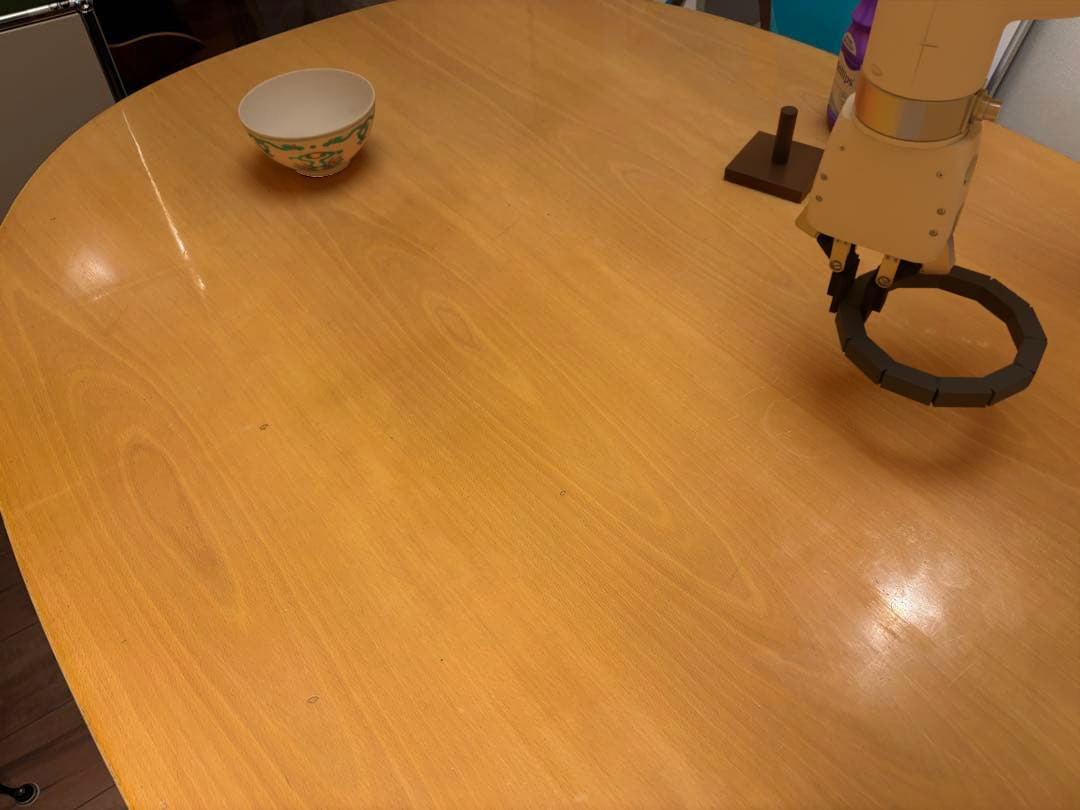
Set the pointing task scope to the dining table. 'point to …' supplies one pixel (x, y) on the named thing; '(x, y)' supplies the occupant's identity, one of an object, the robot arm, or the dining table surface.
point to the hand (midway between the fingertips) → (853, 306)
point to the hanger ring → (947, 389)
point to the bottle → (851, 58)
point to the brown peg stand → (777, 161)
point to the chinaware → (310, 118)
